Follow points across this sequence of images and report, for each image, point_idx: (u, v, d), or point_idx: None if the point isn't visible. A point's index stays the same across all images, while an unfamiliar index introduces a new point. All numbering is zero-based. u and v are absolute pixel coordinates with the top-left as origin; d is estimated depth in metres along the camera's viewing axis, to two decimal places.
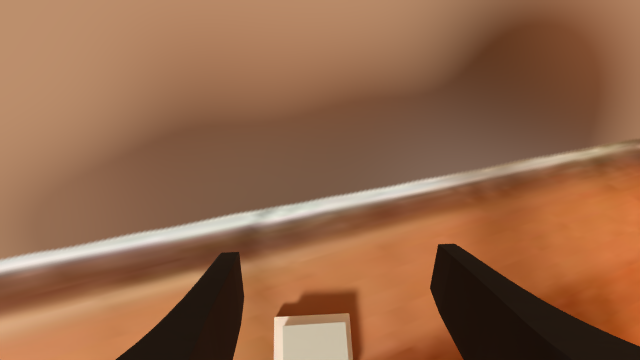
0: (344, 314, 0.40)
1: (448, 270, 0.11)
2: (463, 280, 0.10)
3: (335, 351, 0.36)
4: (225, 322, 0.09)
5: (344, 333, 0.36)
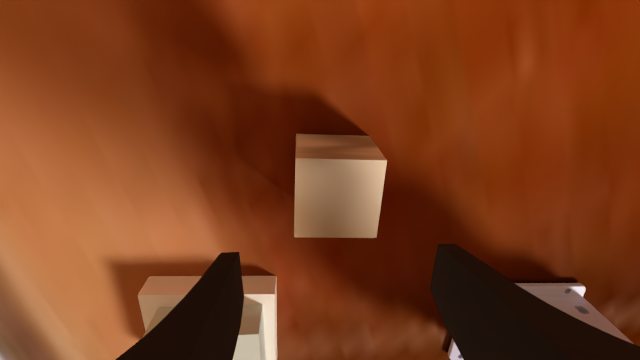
0: (140, 302, 0.22)
1: (448, 270, 0.11)
2: (463, 280, 0.10)
3: None
4: (225, 322, 0.09)
5: None
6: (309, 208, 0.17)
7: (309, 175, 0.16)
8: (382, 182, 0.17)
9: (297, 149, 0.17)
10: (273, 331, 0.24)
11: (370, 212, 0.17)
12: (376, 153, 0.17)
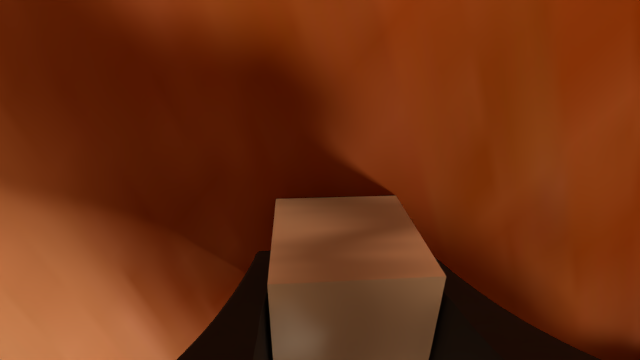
0: None
1: None
2: None
3: None
4: None
5: None
6: (300, 359, 0.09)
7: (297, 309, 0.08)
8: (436, 311, 0.09)
9: (274, 250, 0.09)
10: None
11: (413, 356, 0.09)
12: (420, 251, 0.09)
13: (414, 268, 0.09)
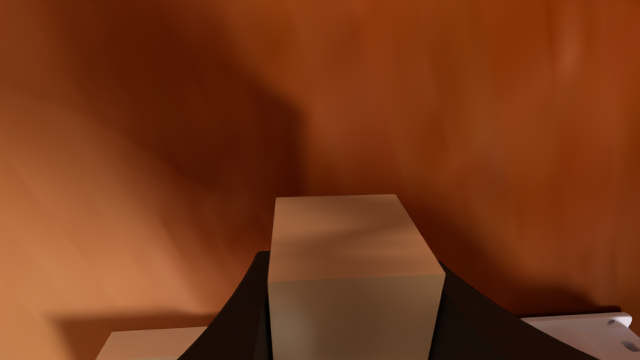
0: None
1: None
2: None
3: None
4: None
5: None
6: (300, 357, 0.09)
7: (297, 307, 0.08)
8: (435, 309, 0.09)
9: (274, 248, 0.09)
10: None
11: (412, 353, 0.10)
12: (419, 249, 0.09)
13: (414, 266, 0.09)
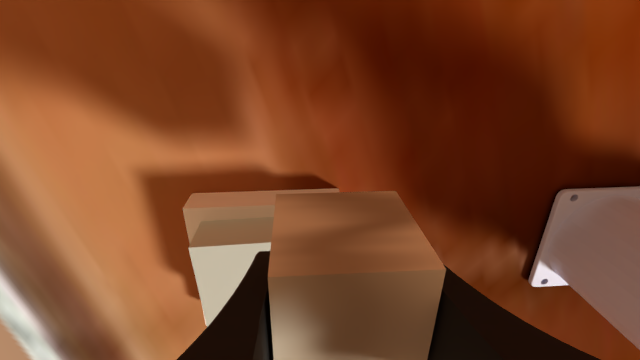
0: (186, 217, 0.19)
1: None
2: None
3: (248, 265, 0.17)
4: (269, 319, 0.09)
5: (212, 249, 0.17)
6: (300, 353, 0.09)
7: (297, 303, 0.08)
8: (436, 304, 0.09)
9: (274, 244, 0.09)
10: None
11: (413, 349, 0.10)
12: (420, 245, 0.09)
13: (414, 261, 0.09)
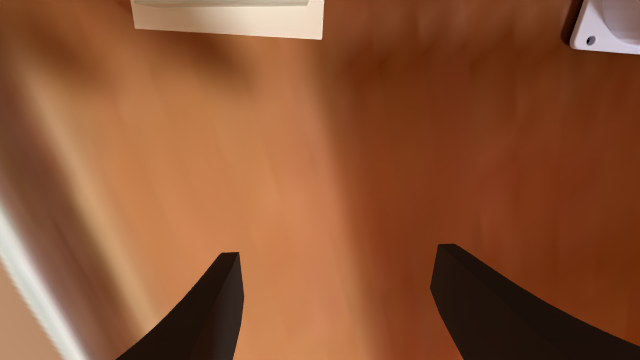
0: None
1: (448, 270, 0.11)
2: (463, 280, 0.10)
3: None
4: (225, 322, 0.09)
5: None
6: None
7: None
8: None
9: None
10: None
11: None
12: None
13: None
